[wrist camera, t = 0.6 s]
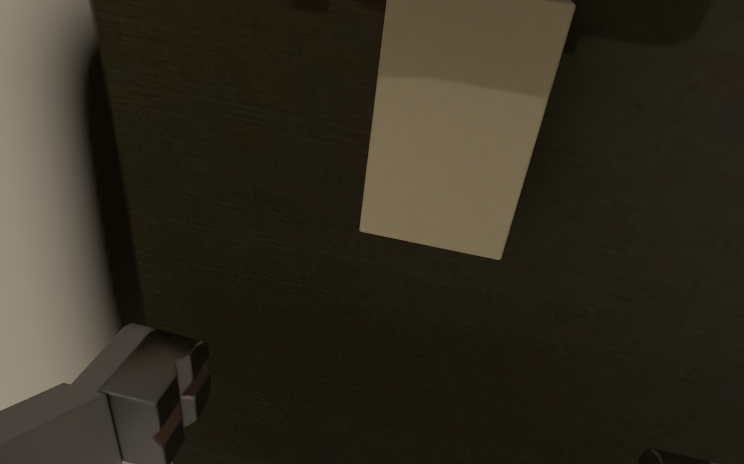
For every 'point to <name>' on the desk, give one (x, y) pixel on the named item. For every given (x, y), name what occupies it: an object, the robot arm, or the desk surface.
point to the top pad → (458, 117)
